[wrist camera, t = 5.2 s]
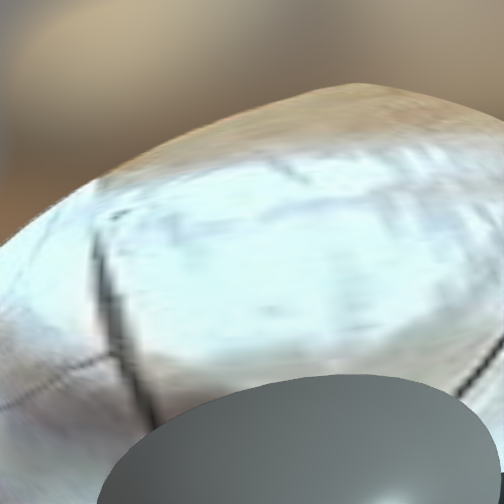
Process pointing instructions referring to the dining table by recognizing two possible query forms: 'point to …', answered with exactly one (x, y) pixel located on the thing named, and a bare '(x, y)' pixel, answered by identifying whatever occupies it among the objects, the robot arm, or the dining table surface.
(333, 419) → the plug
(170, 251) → the dining table surface
